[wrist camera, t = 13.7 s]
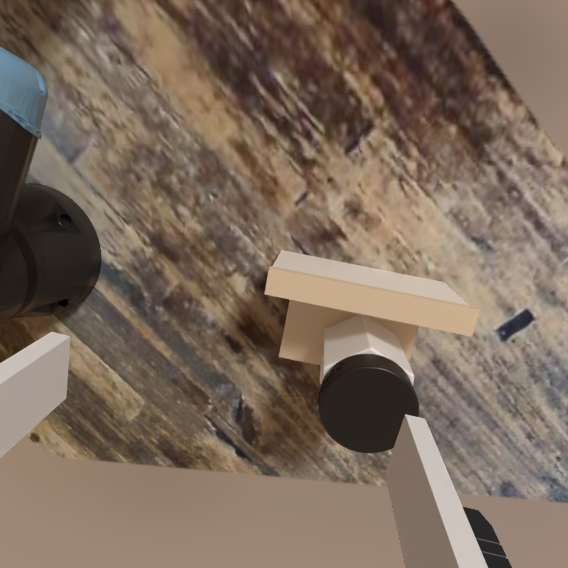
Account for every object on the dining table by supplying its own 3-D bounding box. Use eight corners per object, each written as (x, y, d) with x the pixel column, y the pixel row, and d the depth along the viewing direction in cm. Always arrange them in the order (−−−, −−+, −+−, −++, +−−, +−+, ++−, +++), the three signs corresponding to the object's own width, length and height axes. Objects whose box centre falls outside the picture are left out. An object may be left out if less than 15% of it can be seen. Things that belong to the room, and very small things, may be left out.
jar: (323, 309, 45) (322, 357, 33) (400, 315, 44) (426, 366, 32) (318, 384, 47) (314, 453, 35) (391, 390, 46) (412, 463, 35)
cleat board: (264, 344, 49) (247, 390, 39) (282, 246, 46) (269, 267, 35) (415, 376, 48) (440, 431, 38) (445, 278, 45) (480, 310, 34)
